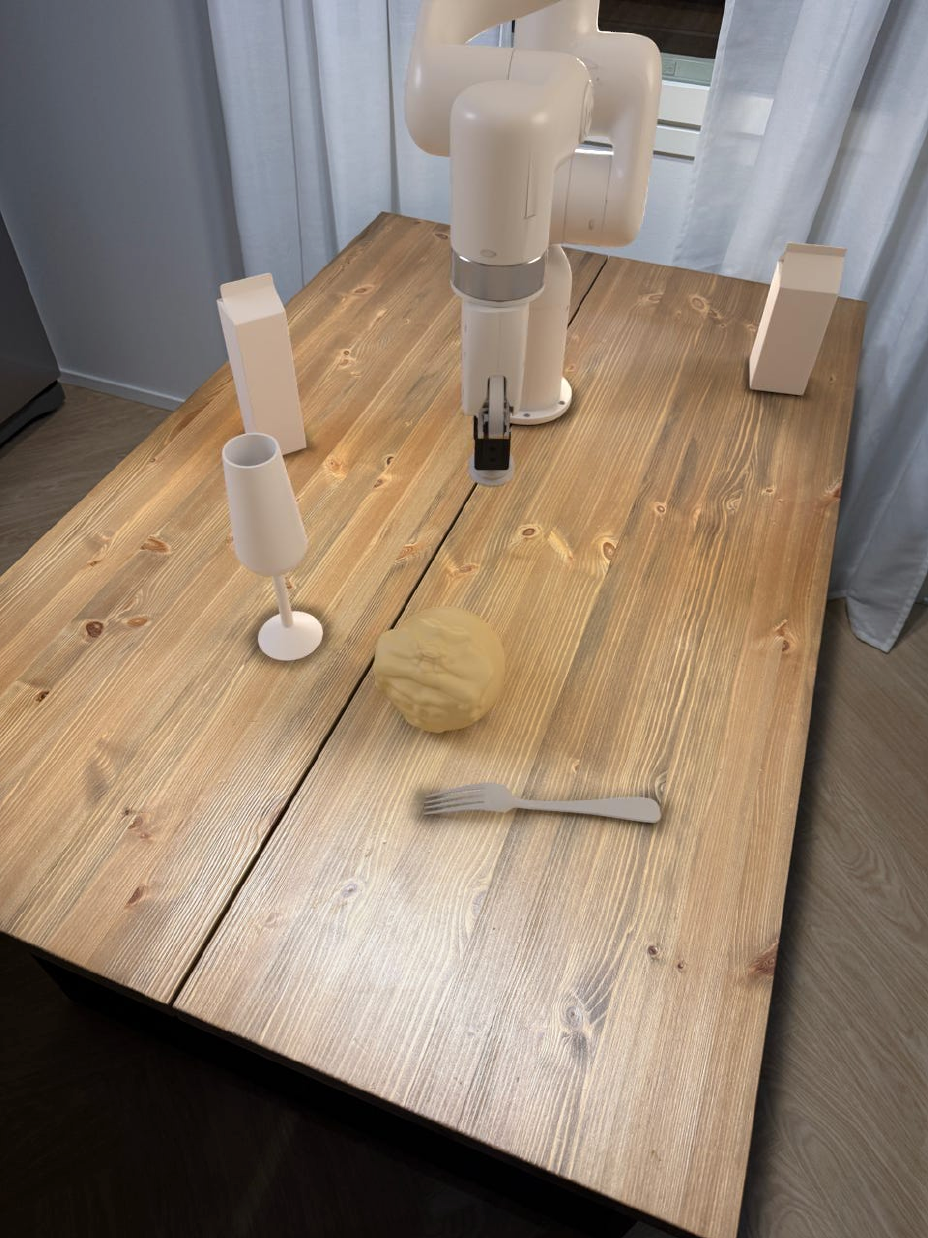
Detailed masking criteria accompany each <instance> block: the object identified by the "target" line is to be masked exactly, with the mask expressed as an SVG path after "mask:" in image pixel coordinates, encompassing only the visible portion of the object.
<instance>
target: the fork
mask: <svg viewBox="0 0 928 1238" xmlns="http://www.w3.org/2000/svg"><path fill="white" fill-rule="evenodd" d="M459 792H462V793H459ZM455 793H457V794H455ZM448 794H452V795H448ZM442 795H447V796H443V797H440V798H436V799H432V800H427V801H425V802H424V804H425V805H426V804H431V803H432V805H429V806H424V809H425V810H426V809H432V808H439V807H446V808H442V809H436V810H432V811H431V810H430V811H428V812H424V813H423V815H433V814H442V813H452V812H463V811H464V812H465V811H481V810H482V811H487V812H488V811H490V812H495V813H496V812H497V813H508V812H509V811H510V810H512V809H514V808H519V809H525V810H526V809H527V810H537V811H549V812H550V811H551V812H562V813H563V812H564V813H575V814H583V815H585V814H586V815H594V816H600V817H608V818H613V819H621V820H626V821H633V822H639V823H640V822H641V823H648V824H649V823H650V824H656V823H658V822H659V821H660V819H661V818H662V814H661V807H660V805H659V803H658V802H657V801H656V800H654V799H653V798H651V797H644V796H642V797H641V796H622V797H619V796H618V797H608V798H597V799H596V798H595V799H594V798H593V799H579V800H577V799H575V800H533V799H525V798H521V797H518V796H517V797H516V796H515V795H514V794H513V793H512V792H511V791H510V790H509V788H508V787H507V786H506V785H504V784H502V783H497V782H487V781H484V782H479V783H473V784H466V785H463V786H458V787H453V788H449V789H446V790H442V791H439V792H435V793H433V794H429V795H426V796H424V798H426V799H427V798H432V797H437V796H442ZM455 799H456V800H455ZM449 800H451V801H449ZM443 801H445V802H443ZM436 802H441V803H437V804H433V803H436ZM455 805H456V806H455ZM447 806H451V807H447Z"/></svg>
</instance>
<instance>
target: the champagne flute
mask: <svg viewBox="0 0 928 1238" xmlns="http://www.w3.org/2000/svg"><path fill="white" fill-rule="evenodd" d="M221 458H222V465H223V473H224V482H225V488H226V498H227V505H228V513H229V520H230V528H231V535H232V543H233V544H232V545H233V550H234V551H233V552H234V555H235V557H236V559H237V560H238V562H239V563H240V564H241V565H242V566H243V567H244V568H245V569H247V570H248V571H250V572H251V573H254V574H256V575H259V576H260V577H261V576H263V577H268V578H269V577H270V578H271V580H272V586H273V589H274V594H275V599H276V602H277V608H278V612H279V613H278V614H275V615H274V616H272V617H270V618H269V619H268V620H267V621H265V622H264V624H262V626H261V627H260V629H259V632H258V635H257V643H258V646H259V648H260V650H261V651H262V652H263V653H264V654H265V655H266V656H268V657H270V658H271V659H274V660H278V661H295V660H300V659H303V658H306V657H307V656H308V655H310V654H311V653H313V652H314V651H315V650H316V649H317V648H318V647H319V646H320V644H321V643H322V640H323V636H324V630H323V626H322V624H321V622H320V621H319V619H317V618H316V617H315V616H313V615H312V614H309V613H307V612H303V611H298V610H294V611H292V607H291V602H290V599H289V598H290V597H289V593H288V588H287V583H286V579H285V574H288V573H289V572H291V571H293V570H294V569H295V568H296V567H297V566H299V564H300V563H301V561H302V560H303V559H304V556H305V554H306V552H307V549H308V541H309V540H308V536H307V533H306V529H305V526H304V522H303V519H302V516H301V513H300V509H299V506H298V503H297V500H296V498H295V497H296V496H295V493H294V490H293V487H292V483H291V480H290V477H289V474H288V470H287V467H286V463H285V460H284V456H283V455H282V453H281V450H280V447H279V444H278V442H277V441H276V439H274V438H273V437H271V436H269V435H267V434H263V433H246V434H245V433H243V434H239V435H236V436H235V437H232V438H231V439H229V440H228V441H227V442H226V443H225V444H224V445H223V447H222V450H221Z"/></svg>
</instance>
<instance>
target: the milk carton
mask: <svg viewBox="0 0 928 1238" xmlns="http://www.w3.org/2000/svg"><path fill="white" fill-rule="evenodd" d="M847 251H848V247H842V246H832V245H822V244H813V243H812V244H811V243H805V242H804V243H803V242H793V241H788V242H787V243H786V246H785V250H784V252H783V253H782V254H781V255H780V257H779V258H778V260H777V262H776V266H775V269H774V274H773V276H772V281H771V284H770V287H769V290H768V295H767V298H766V302H765V305H764V309H763V312H762V315H761V318H760V322H759V326H758V328H757V333H756V336H755V339H754V343H753V347H752V350H751V353H750V357H749V389H750V390H755V391H762V392H772V393H779V394H788V395H796V396H803V395H805V394H804V393H805V391H806V388H807V385H808V383H809V379H810V377H811V374H812V371H813V368H814V366H815V363H816V359H817V356H818V353H819V351H820V347H821V345H822V342H823V340H824V337H825V333H826V331H827V328H828V325H829V322H830V319H831V317H832V314H833V311H834V309H835V305H836V302H837V299H838V297H839V294H840V289H841V282H842V276H843V270H844V265H845V258H846V255H847Z"/></svg>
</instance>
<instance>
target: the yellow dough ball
mask: <svg viewBox="0 0 928 1238" xmlns="http://www.w3.org/2000/svg"><path fill="white" fill-rule="evenodd" d="M375 645H376V646H375V650H374V651H375V652H374V660H373V663H372V672H373V676H374V678H375V680H374V684H375V687H376V690H377V691H378V692H380V693H384V694H385V696H386V697H387V699H388V700H389V702H390V703H391V704H392V705H393V707H395V709H396V710H398V712H399V713H400V714H402V715H403V717H404V720H405V722H406V723H407V724H410V725H411V726H412V727H414V728H417V729H421V730H423V731H425V732H429V733H435V734H442V733H444V732H449V731H459V730H461V729H465V728H467V727H470V726H472V725H474V724H475V723H477V722H478V721H480V720H481V719H482V718H483V717H485V716H486V715H487V713H489V711H490V710H491V709H492V708H493V706H494V705H495V703H496V702H497V701H498V698H499V696H500V694H501V692H502V689H503V686H504V682H505V677H506V668H507V667H506V655H505V650H504V648H503V644H502V642H501V640H500V637H499V635H498V634H497V633H496V632H495V630H494V628H492V627H491V625H489V623H487V622H486V621H485V620H484V619H483V618H481V617H480V616H478V615H477V614H475V613H473V612H472V611H469V610H467V609H464V608H461V607H457V606H448V605H438V606H432V607H427V608H424V609H421V610H418V611H416V612H415V613H413V614H412V615H410V616H409V617H407V618H406V619H405V620H404V621H402V623H400V625H399V626H398V627H397V628H396V629H389V630H387V631H384V632H382V633H381V634H380V635H379V637H378V639H377V642H376V644H375Z"/></svg>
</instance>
